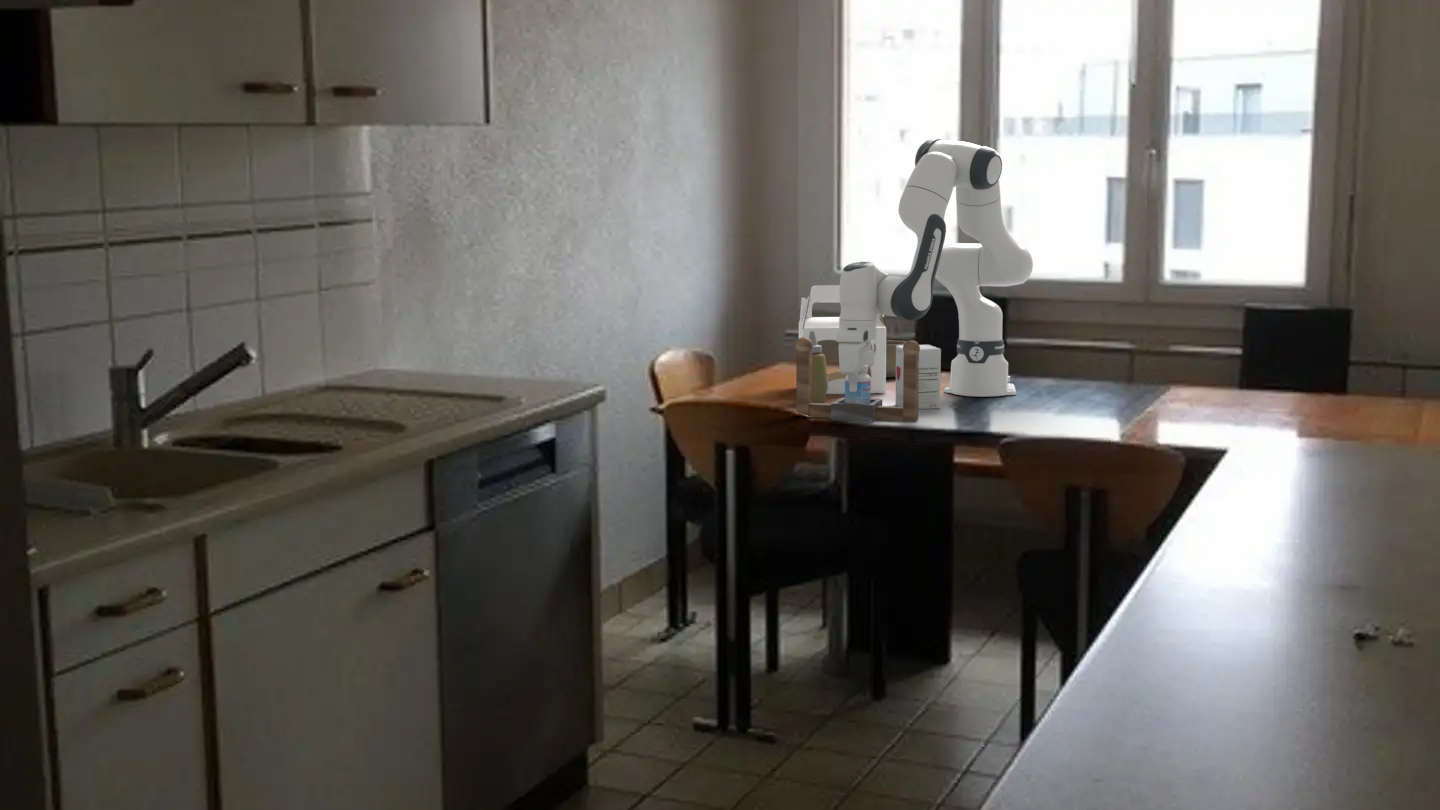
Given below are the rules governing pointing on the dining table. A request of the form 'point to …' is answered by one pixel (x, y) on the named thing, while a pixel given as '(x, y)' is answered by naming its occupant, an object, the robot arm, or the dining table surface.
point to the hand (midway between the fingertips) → (857, 389)
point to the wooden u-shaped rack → (857, 411)
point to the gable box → (828, 330)
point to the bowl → (891, 357)
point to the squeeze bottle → (818, 371)
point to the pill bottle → (859, 389)
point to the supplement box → (922, 376)
